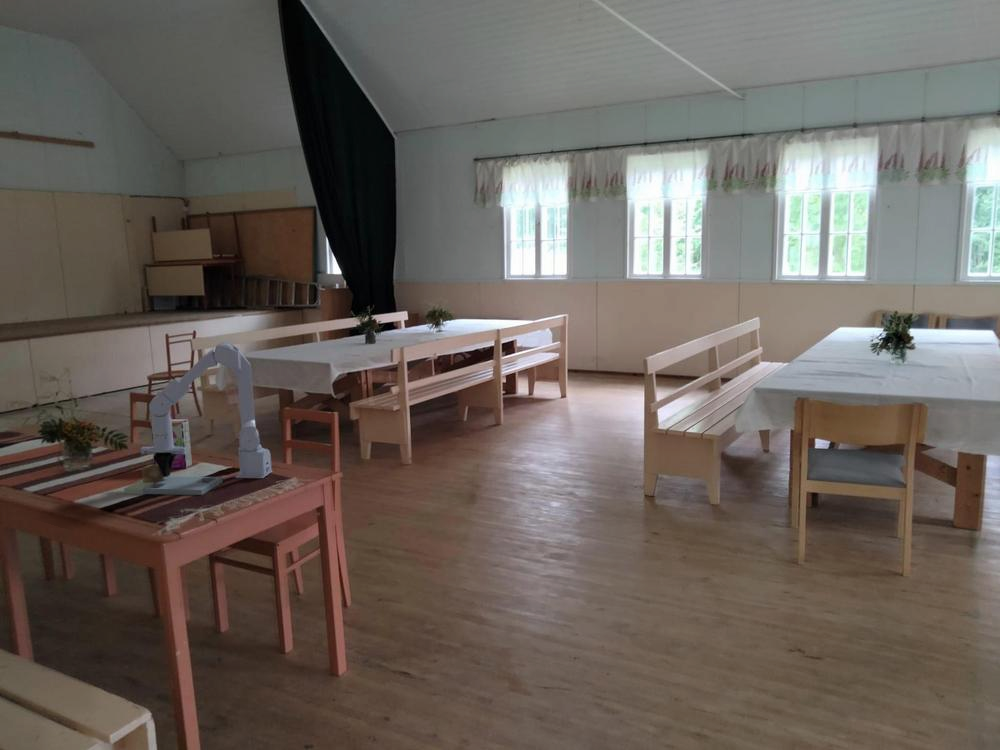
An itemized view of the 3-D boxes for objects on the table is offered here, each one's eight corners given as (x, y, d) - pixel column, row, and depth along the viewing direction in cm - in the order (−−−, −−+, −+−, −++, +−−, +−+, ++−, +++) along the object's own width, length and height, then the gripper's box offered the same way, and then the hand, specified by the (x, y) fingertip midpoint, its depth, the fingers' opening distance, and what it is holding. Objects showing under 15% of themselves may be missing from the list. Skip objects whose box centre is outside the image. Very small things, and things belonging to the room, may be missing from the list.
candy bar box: (154, 469, 253) (149, 422, 250) (161, 465, 258) (156, 419, 255) (186, 469, 253) (182, 421, 250) (193, 464, 258) (188, 418, 255)
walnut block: (164, 478, 236) (163, 464, 236) (156, 482, 232) (155, 468, 231) (151, 478, 237) (149, 464, 236) (142, 482, 232) (141, 468, 232)
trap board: (222, 482, 236) (222, 477, 236) (202, 494, 224) (201, 489, 223) (149, 480, 239) (148, 476, 239) (124, 493, 227) (124, 488, 226)
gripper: (191, 431, 236) (194, 472, 238) (148, 430, 238) (152, 472, 240) (179, 436, 229) (183, 479, 231) (135, 436, 231) (139, 478, 233)
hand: (166, 475), depth 235 cm, fingers closed
